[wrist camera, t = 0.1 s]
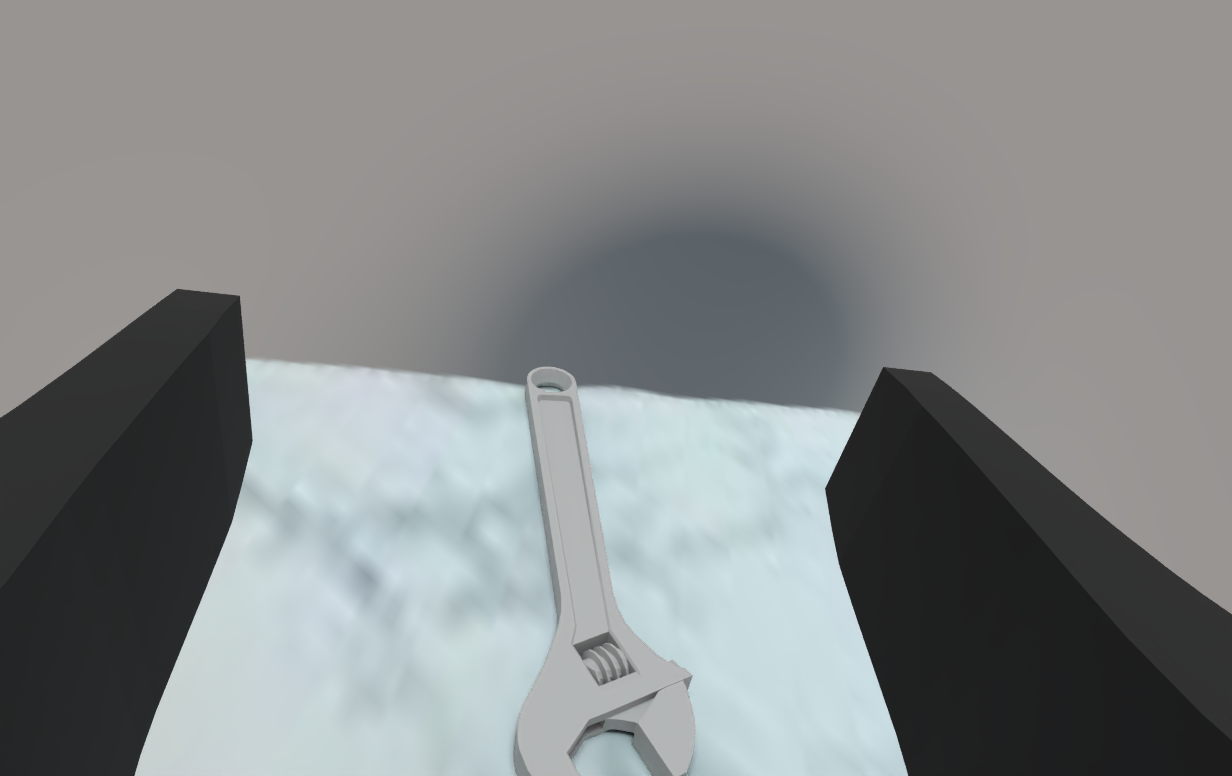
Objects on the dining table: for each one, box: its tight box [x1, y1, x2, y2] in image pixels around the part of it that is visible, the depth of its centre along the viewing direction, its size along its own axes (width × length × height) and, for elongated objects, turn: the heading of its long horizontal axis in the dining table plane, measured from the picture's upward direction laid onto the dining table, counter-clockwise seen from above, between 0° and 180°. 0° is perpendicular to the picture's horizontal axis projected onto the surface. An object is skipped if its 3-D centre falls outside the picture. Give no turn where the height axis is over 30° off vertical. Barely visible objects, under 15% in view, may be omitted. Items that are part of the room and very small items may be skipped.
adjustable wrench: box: [514, 367, 695, 776], centre depth 38 cm, size 25×6×2 cm, turn 4°
